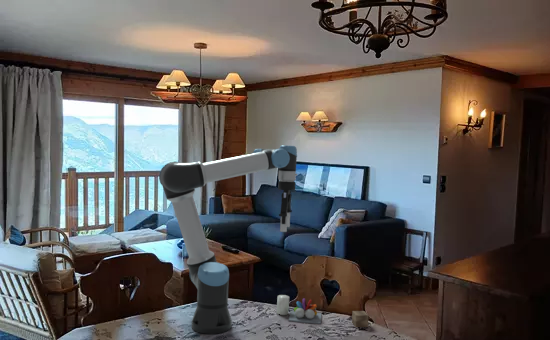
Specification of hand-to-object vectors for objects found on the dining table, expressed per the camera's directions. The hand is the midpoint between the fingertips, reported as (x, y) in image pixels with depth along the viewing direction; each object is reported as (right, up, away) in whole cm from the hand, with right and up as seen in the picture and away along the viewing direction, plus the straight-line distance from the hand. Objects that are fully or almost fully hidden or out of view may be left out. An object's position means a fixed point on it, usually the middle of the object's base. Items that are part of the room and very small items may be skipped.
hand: (285, 229), depth 192 cm
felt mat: (+8, -35, -11) cm, 38 cm away
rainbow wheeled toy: (+8, -35, -10) cm, 37 cm away
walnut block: (+30, -36, -16) cm, 50 cm away
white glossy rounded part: (-1, -35, -6) cm, 35 cm away
